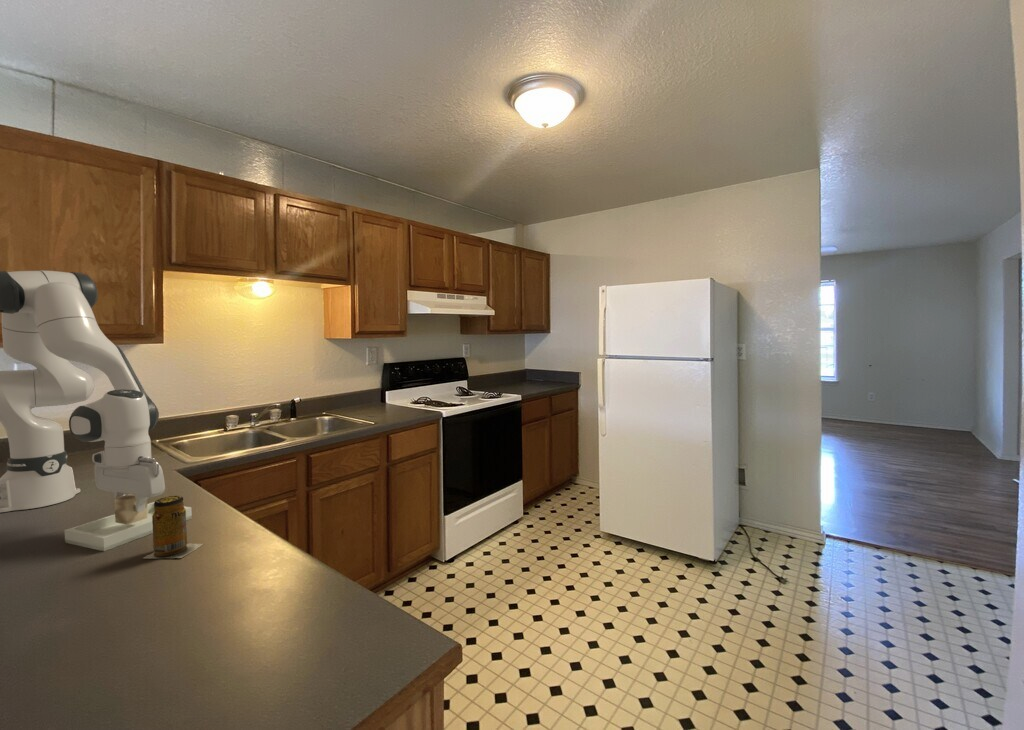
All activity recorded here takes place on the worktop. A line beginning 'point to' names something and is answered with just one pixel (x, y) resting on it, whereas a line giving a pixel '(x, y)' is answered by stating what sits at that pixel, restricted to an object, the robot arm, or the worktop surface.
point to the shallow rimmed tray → (112, 531)
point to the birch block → (128, 510)
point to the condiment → (170, 529)
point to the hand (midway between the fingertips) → (131, 509)
